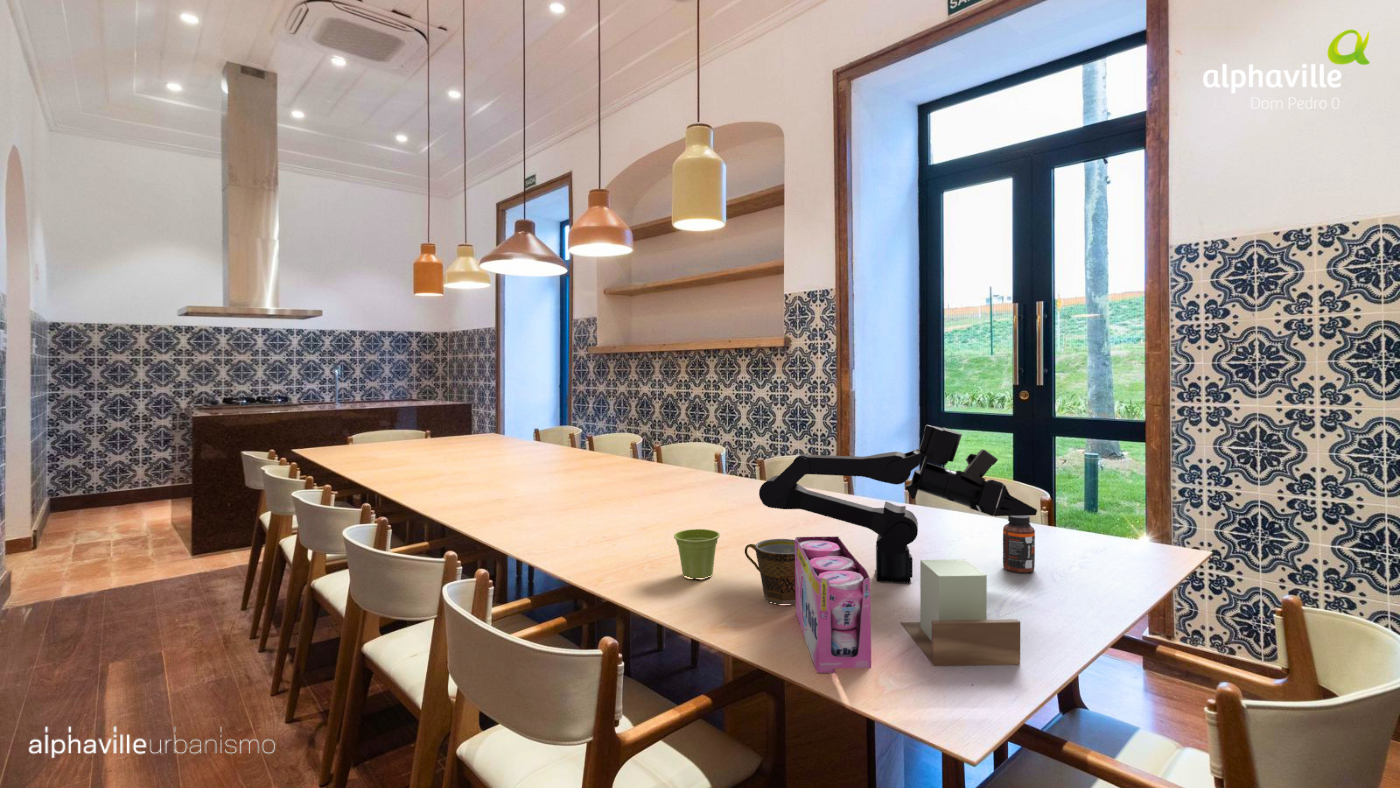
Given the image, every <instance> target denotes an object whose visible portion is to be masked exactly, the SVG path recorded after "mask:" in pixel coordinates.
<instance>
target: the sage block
mask: <svg viewBox="0 0 1400 788" xmlns="http://www.w3.org/2000/svg"><path fill="white" fill-rule="evenodd" d="M919 560H920V563H919V564H920V566H919V567H920V568H919V569H920V572H919V574H920V575H919V576H920V580H919V581H920V582H919V583H920V586H919V587H920V589H919V590H920V592H919V593H920V596H919V598H920V601H919V603H920V604H919V605H920V606H919V607H920V609H919V610H920V614H919V615H920V619H919V620H920V621H919V622H920V628H921V629H922V631H923V632H924V633H925V634H926V635H927V636H928V638H929V639H930V640H931V641H932V621H942V620H988V618H987V614H988V613H987V609H988V608H987V606H988V605H987V603H988V602H987V601H988V600H987V598H988V597H987V594H988V593H987V590H988V589H987V588H988V586H987V582H988V581H987V579H988V577H987V576H988V575H987V574H986V573H984V572H982V571H981V570H980V569H978V568H977V567H976V566H975V565H973V564H971V562H969V561H968V560H966V559H963V558H961V559H960V558H959V559H958V558H957V559H953V558H952V559H919Z"/></svg>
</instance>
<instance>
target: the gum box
mask: <svg viewBox="0 0 1400 788" xmlns="http://www.w3.org/2000/svg"><path fill="white" fill-rule="evenodd" d="M794 540H795V589H796V605H795V615H796V617H798V618H797V620H799V621H798V623H800V624H799V626H800V628H801V632H802V635H803V637H804V639H805V644H806V646H807V649H808V651H809V653H810V657H811V660H812V662H813V664H814V667H815V670H816V673H819V674H824V673H825V674H829V673H830V674H832V673H833V674H837V671H836V670H835V669H869V668H872V624H871V623H872V621H871V620H872V619H871V618H872V613H871V611H872V610H871V577H870V575H869V573H868V571H867V570H866V567H864V566H863V565H862V564H861V563H860V562H859V561H858V560H857V559H856V557H855V555H853V554H852V553H851V551H850V550H849V549H848V548H847V546H846V545H845V544H844V543H843V541H842V540H841V538H840V537H839V536H796V537H794Z"/></svg>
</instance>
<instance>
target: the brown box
mask: <svg viewBox="0 0 1400 788" xmlns="http://www.w3.org/2000/svg"><path fill="white" fill-rule="evenodd" d="M900 625H901V626H902V627H903V628H904V630H905V631H906V632H907V634H908V635H909V636H910V637H911V638H912V640H913V641H914V642H915V643H916V645H917V646H918V647H919V649H920V650H921V651H922V652H923V654H924V656H926V658H927V659H928V660H929V661H930V663H931V664H932V665H933V666H934V667H938V666H940V667H941V666H944V667H945V666H950V667H951V666H952V667H953V666H1002V665H1006V666H1009V665H1011V666H1012V665H1017V666H1018V665H1021V621H1019V619H1016V618H1014V619H987V620H942V621H932V641H931V640H930V639H929V638H928V636H927V635H926V634H925V633H924V632H923V631H922V629H921V628H920V621H917V622H916V621H913V622H910V621H909V622H900Z"/></svg>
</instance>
